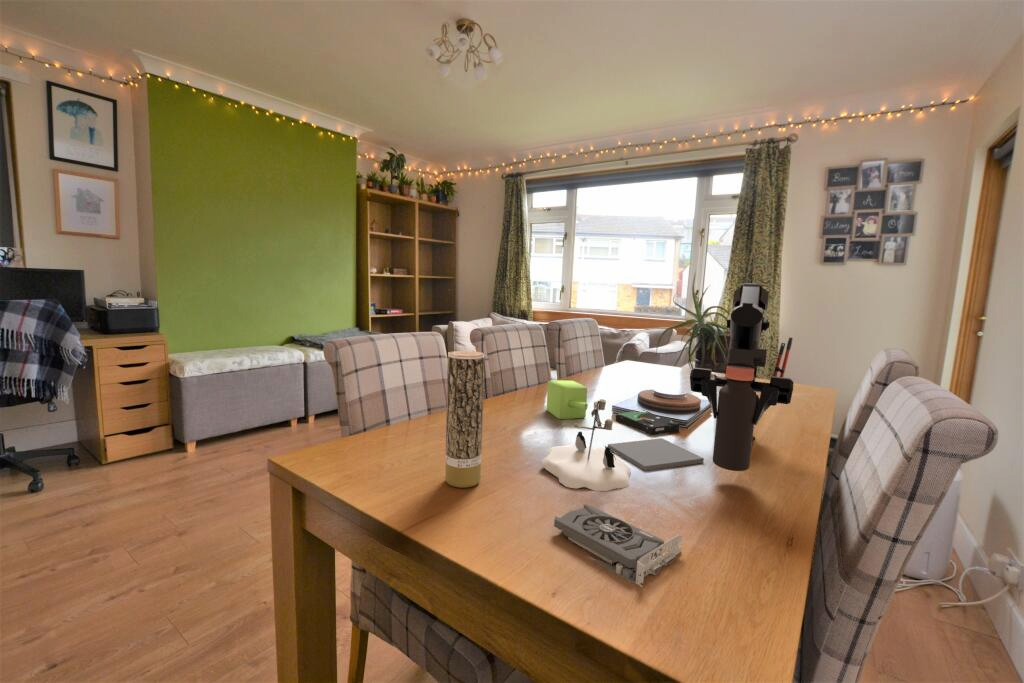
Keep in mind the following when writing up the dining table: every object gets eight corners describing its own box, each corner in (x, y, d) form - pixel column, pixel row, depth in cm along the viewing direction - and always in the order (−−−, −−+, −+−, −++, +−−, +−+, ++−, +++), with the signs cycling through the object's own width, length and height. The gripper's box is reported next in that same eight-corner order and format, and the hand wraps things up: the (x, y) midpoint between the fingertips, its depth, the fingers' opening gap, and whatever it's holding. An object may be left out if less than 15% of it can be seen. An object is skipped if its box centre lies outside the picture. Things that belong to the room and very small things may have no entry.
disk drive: (679, 433, 127) (641, 417, 140) (680, 423, 127) (642, 408, 140) (651, 437, 122) (614, 421, 135) (652, 427, 122) (615, 412, 135)
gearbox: (597, 423, 132) (599, 390, 131) (565, 424, 129) (567, 391, 128) (572, 406, 149) (574, 377, 148) (543, 407, 146) (544, 377, 145)
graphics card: (689, 535, 68) (643, 564, 60) (687, 560, 68) (640, 592, 60) (596, 494, 80) (548, 514, 72) (595, 515, 80) (546, 537, 72)
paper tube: (485, 477, 92) (490, 352, 89) (471, 492, 85) (475, 357, 82) (454, 472, 94) (457, 349, 91) (438, 485, 88) (441, 354, 85)
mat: (661, 442, 117) (661, 438, 117) (703, 462, 104) (703, 458, 104) (607, 448, 111) (607, 444, 111) (644, 470, 98) (645, 466, 98)
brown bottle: (747, 474, 89) (758, 372, 86) (709, 466, 93) (718, 367, 90) (751, 463, 95) (761, 367, 92) (715, 456, 98) (724, 363, 96)
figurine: (530, 451, 105) (536, 382, 101) (604, 448, 109) (613, 382, 106) (560, 500, 86) (569, 417, 83) (648, 494, 91) (660, 415, 87)
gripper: (694, 329, 98) (682, 391, 90) (798, 337, 89) (795, 406, 81) (696, 361, 106) (685, 420, 98) (791, 371, 97) (788, 437, 89)
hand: (734, 420), depth 91 cm, fingers closed on brown bottle, 7 cm apart
